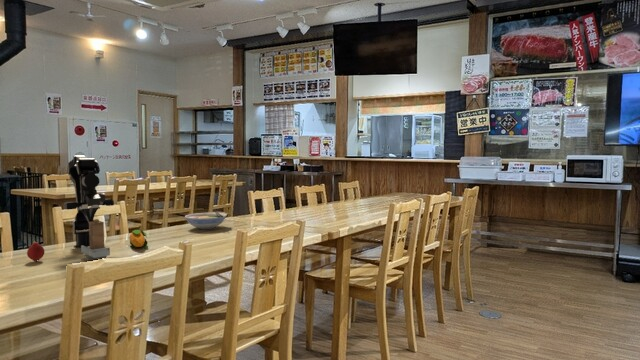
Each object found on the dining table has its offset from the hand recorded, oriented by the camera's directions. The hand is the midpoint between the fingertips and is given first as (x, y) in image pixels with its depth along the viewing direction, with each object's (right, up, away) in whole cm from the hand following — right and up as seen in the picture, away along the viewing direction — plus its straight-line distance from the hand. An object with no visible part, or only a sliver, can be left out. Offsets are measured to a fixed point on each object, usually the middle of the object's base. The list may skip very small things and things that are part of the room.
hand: (90, 224), depth 195 cm
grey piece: (+8, -13, -11) cm, 19 cm away
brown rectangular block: (+9, -9, -13) cm, 18 cm away
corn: (+17, -12, +11) cm, 23 cm away
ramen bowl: (+35, -8, +59) cm, 69 cm away
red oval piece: (-14, -14, -15) cm, 24 cm away
